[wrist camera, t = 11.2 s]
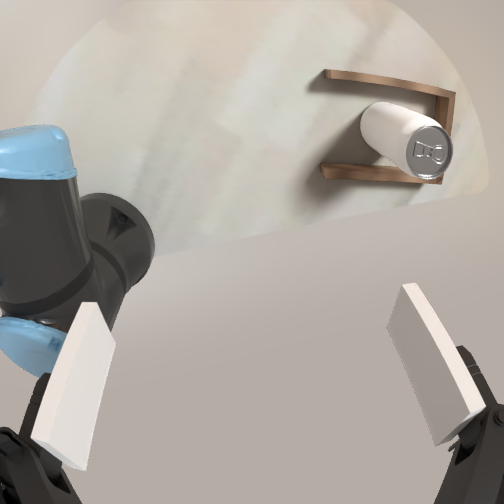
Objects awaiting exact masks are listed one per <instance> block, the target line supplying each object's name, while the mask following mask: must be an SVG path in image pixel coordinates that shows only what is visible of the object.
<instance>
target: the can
mask: <svg viewBox="0 0 504 504" xmlns="http://www.w3.org/2000/svg"><path fill="white" fill-rule="evenodd" d="M360 130H361V134H362V137H363V139H364V140H365V142H366V143H367V144H368V145H369V146H371V147H372V148H373V149H375V150H376V151H377V152H379V153H380V154H381V155H383V156H384V157H385V158H387V159H388V160H389V161H391V162H392V163H393V164H395V165H396V166H397V167H399V168H400V169H401V170H402V171H404V172H405V173H407V174H408V175H410V176H413V177H417V178H421V179H424V180H431V179H435V178H437V177H439V176H440V175H442V174H443V173H444V172H445V171H446V169H447V168H448V166H449V164H450V162H451V159H452V155H453V145H452V141H451V138H450V136H449V134H448V133H447V132H446V130H444V129H443V128H442V127H441V125H440V124H439V123H438V122H436V121H435V120H433V119H431V118H429V117H427V116H424V115H422V114H419V113H417V112H414V111H412V110H409V109H406V108H403V107H400V106H397V105H394V104H391V103H388V102H377V103H374V104H372V105H371V106H369V107H368V108H367V109H366V110H365V112H364V113H363V115H362V118H361V122H360Z"/></svg>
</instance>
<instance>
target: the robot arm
mask: <svg viewBox="0 0 504 504" xmlns="http://www.w3.org/2000/svg"><path fill="white" fill-rule="evenodd" d="M76 176H77V170H76V169H75V168H74V164H73V160H72V155H71V150H70V145H69V140H68V137H67V135H66V133H65V132H64V131H63V130H62V129H61V128H59V127H57V126H54V125H33V126H25V127H19V128H13V129H7V130H2V131H0V308H1V310H2V317H0V349H1V350H2V351H3V352H4V353H5V354H6V355H7V356H8V357H9V358H10V359H11V360H12V361H13V362H14V363H16V364H17V365H18V366H20V367H21V368H23V369H24V370H26V371H27V372H29V373H31V374H33V375H34V376H37V377H39V380H38V381H37V383H36V386H35V388H34V391H33V395H32V396H31V399H30V404H29V405H28V407H27V410H26V413H25V416H24V420H23V423H22V426H21V429H20V432H19V435H17V434H16V433H15V432H14V431H13V430H11V429H10V428H8V427H0V504H82V503H81V501H80V499H79V497H78V496H77V494H76V492H75V491H74V489H73V487H72V485H71V483H70V481H69V479H68V478H67V476H66V474H65V472H64V470H63V469H62V468H61V466H62V462H63V463H64V464H66V465H67V466H69V467H71V468H76V469H79V470H83V471H86V468H87V462H88V457H89V452H90V447H91V442H92V437H93V432H94V428H95V423H96V419H97V414H98V410H99V406H100V402H101V397H102V393H103V390H104V386H105V382H106V378H107V374H108V371H109V367H110V363H111V360H112V356H113V353H114V350H115V346H116V343H115V341H114V339H113V337H112V335H111V330H112V328H113V325H114V322H115V320H116V317H117V314H118V311H119V309H120V306H121V304H122V301H123V298H124V296H125V294H126V293H127V292H128V291H129V290H130V289H131V287H132V286H134V285H135V284H137V283H138V282H139V281H140V280H141V279H142V278H143V277H144V276H145V274H146V273H147V271H148V269H149V267H150V264H151V262H152V259H153V256H154V250H155V244H154V237H153V233H152V230H151V228H150V226H149V224H148V222H147V221H146V219H145V218H144V216H143V215H142V214H141V213H140V212H139V211H138V210H137V209H136V208H135V207H134V206H133V205H131V204H130V203H129V202H127V201H125V200H124V199H122V198H120V197H117V196H114V195H111V194H106V193H93V194H88V195H85V196H83V197H81V198H80V197H79V192H78V186H77V180H76ZM387 330H388V332H389V334H390V336H391V338H392V340H393V343H394V345H395V347H396V349H397V351H398V354H399V356H400V358H401V361H402V363H403V365H404V367H405V370H406V372H407V374H408V377H409V379H410V382H411V384H412V386H413V388H414V391H415V394H416V396H417V398H418V401H419V404H420V406H421V409H422V411H423V414H424V416H425V419H426V422H427V424H428V427H429V430H430V433H431V435H432V438H433V441H434V444H435V446H438V445H440V444H443V443H445V442H448V441H450V440H452V439H453V438H454V437H455V436H456V435H457V434H458V435H459V438H460V439H459V440H458V441H456V443H454V444H453V445H452V446H450V448H449V450H448V451H449V452H450V451H451V450H453V449H454V448H455V450H454V452H453V456H452V459H451V462H450V465H449V467H448V470H447V473H446V475H445V478H444V480H443V483H442V485H441V488H440V490H439V493H438V495H437V497H436V499H435V502H434V504H504V405H502V404H498V403H497V402H496V400H495V398H494V396H493V394H492V392H491V390H490V388H489V386H488V384H487V382H486V380H485V378H484V376H483V375H482V373H481V371H480V369H479V367H478V366H477V365H476V362H475V360H474V358H473V356H472V355H471V353H470V352H469V351H467V349H466V348H464V347H463V346H458V347H455V346H454V344H453V342H452V340H451V339H450V337H449V335H448V333H447V332H446V330H445V329H444V327H443V325H442V323H441V322H440V320H439V319H438V317H437V315H436V314H435V312H434V310H433V309H432V307H431V306H430V304H429V303H428V301H427V299H426V298H425V296H424V295H423V293H422V292H421V290H420V289H419V287H418V285H417V284H416V283H411V284H402V285H401V288H400V291H399V295H398V297H397V300H396V303H395V306H394V309H393V312H392V314H391V318H390V320H389V323H388V325H387ZM1 483H2V485H1Z"/></svg>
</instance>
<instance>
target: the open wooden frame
mask: <svg viewBox="0 0 504 504" xmlns="http://www.w3.org/2000/svg"><path fill="white" fill-rule="evenodd" d="M324 77H326V78H333V79H343V80H353V81H361V82H369V83H376V84H383V85H389V86H395V87H400V88H406V89H411V90H416V91H421V92H426V93H430V94H434V95H437V98H436V108H435V118H434V120H435V121H436V122H438V123H439V124H440V125H441V127H442V128H443V129H444V130H446V132H447V133H448V134H449V136H451V129H452V121H453V113H454V104H455V94H456V92H453V91H449V90H445V89H441V88H437V87H433V86H429V85H425V84H420V83H416V82H411V81H406V80H401V79H396V78H390V77H384V76H378V75H371V74H364V73H357V72H348V71H339V70H327V69H324ZM320 172H321V173H322V174H323V176H324V177H325V179H350V180H378V181H398V182H414V183H428V184H441V185H442V180H443V175H444V173H443V174H442V175H440V176H439V177H437V178H435V179H431V180H424V179H421V178H417V177H413V176H410V175H408V174H407V173H405V172H404V171H402V170H401V169H400V168H399V167H391V166H376V165H356V164H328V163H320Z"/></svg>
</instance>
